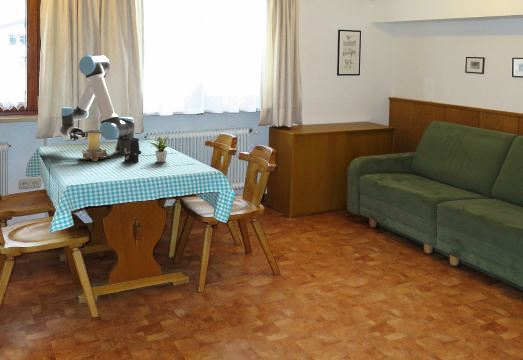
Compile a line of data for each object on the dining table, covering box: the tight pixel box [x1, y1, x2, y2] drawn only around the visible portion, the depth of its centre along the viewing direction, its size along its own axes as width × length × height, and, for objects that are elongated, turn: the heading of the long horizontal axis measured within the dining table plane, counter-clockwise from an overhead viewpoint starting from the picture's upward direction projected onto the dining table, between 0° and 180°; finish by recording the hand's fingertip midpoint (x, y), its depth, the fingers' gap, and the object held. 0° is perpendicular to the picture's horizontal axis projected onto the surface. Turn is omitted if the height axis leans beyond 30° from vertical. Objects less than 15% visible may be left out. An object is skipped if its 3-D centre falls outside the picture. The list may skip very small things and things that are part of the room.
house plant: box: [147, 135, 171, 163], centre depth 389 cm, size 14×14×16 cm
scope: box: [123, 137, 142, 164], centre depth 387 cm, size 8×14×10 cm
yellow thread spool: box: [86, 129, 103, 153], centre depth 393 cm, size 9×9×13 cm
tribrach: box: [81, 149, 108, 162], centre depth 395 cm, size 14×14×5 cm
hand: (91, 137), depth 394 cm, fingers open, 13 cm apart
